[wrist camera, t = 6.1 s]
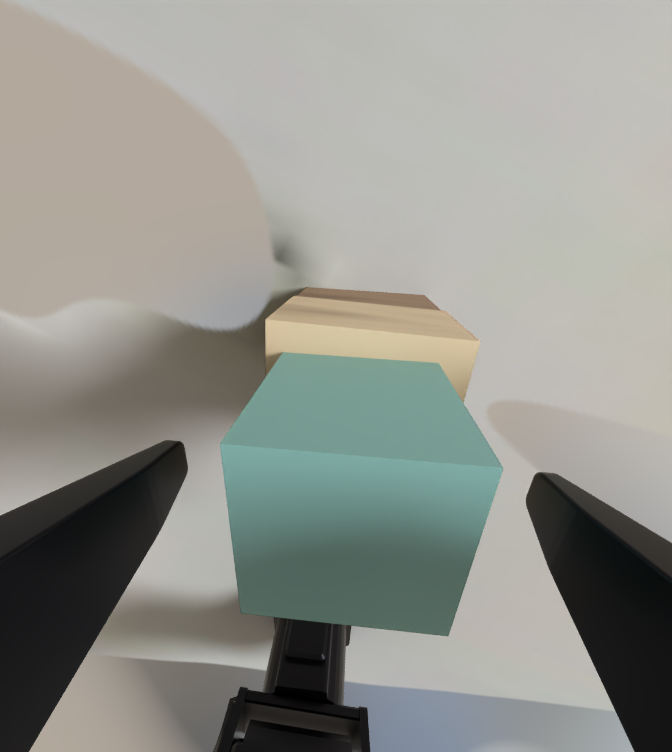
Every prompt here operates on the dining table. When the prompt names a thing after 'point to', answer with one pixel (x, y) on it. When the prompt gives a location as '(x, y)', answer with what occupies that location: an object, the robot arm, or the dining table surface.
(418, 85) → the dining table surface
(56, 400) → the dining table surface
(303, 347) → the tower top
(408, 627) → the teal cube
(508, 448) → the dining table surface
